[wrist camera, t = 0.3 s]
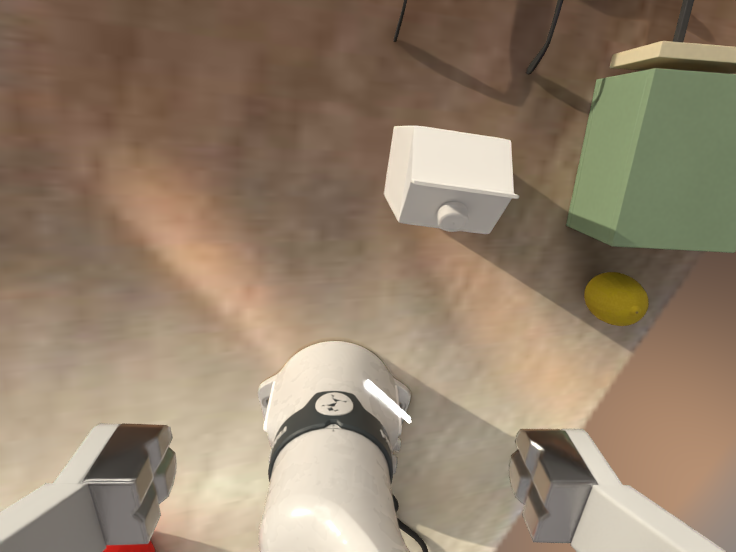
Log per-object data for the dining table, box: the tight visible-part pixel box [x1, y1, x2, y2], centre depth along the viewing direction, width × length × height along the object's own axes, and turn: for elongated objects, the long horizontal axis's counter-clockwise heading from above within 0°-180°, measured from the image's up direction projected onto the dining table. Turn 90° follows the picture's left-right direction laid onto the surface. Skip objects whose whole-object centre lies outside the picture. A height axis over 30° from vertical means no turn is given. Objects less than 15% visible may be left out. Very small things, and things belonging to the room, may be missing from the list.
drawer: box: [610, 0, 736, 74], centre depth 41 cm, size 20×11×7 cm, turn 176°
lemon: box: [584, 272, 649, 326], centre depth 48 cm, size 6×6×8 cm
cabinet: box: [566, 68, 736, 253], centre depth 43 cm, size 15×12×9 cm
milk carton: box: [384, 126, 519, 234], centre depth 38 cm, size 7×7×19 cm
